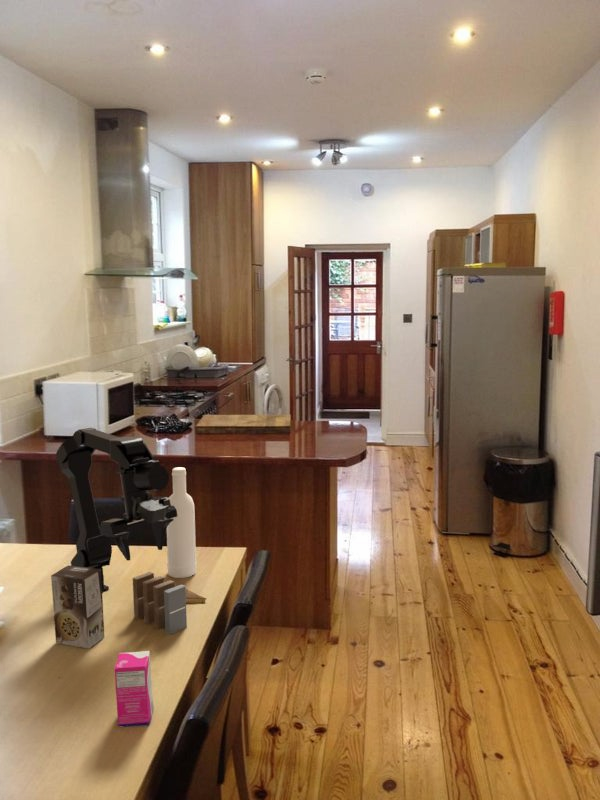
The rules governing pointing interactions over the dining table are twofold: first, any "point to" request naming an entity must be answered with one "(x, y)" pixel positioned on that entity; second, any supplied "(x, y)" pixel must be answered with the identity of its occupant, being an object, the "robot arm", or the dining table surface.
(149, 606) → the domino
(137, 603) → the domino
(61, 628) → the coffee box
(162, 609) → the domino
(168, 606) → the domino
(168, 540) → the bottle
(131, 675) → the supplement box
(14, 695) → the dining table surface
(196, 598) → the shard
